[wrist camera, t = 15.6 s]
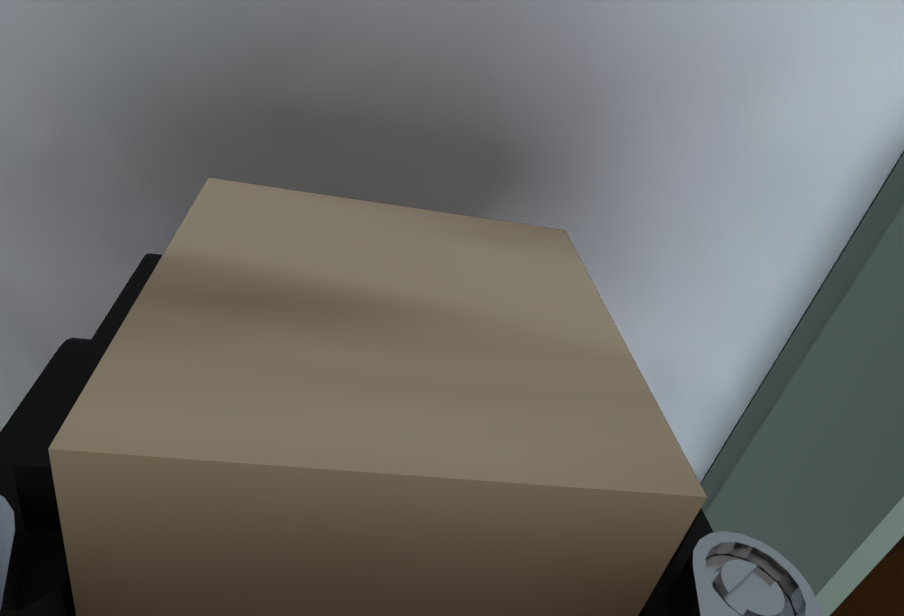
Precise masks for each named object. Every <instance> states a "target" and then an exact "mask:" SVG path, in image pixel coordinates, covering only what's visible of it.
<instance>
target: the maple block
mask: <svg viewBox="0 0 904 616" xmlns="http://www.w3.org/2000/svg"><path fill="white" fill-rule="evenodd" d="M48 451H49V457H50V463H51V469H52V475H53V481H54V487H55V493H56V499H57V505H58V511H59V517H60V523H61V529H62V535H63V541H64V546H65V552H66V558H67V564H68V570H69V576H70V582H71V588H72V594H73V600H74V606H75V612H76V616H638V615H639V613H640V612H641V610H642V608H643V607H644V605H645V603H646V601H647V600H648V598H649V596H650V594H651V593H652V591H653V589H654V588H655V586H656V584H657V582H658V581H659V579H660V577H661V575H662V574H663V572H664V570H665V569H666V567H667V565H668V563H669V562H670V560H671V558H672V557H673V555H674V553H675V551H676V550H677V548H678V546H679V544H680V543H681V541H682V539H683V538H684V536H685V534H686V532H687V531H688V529H689V527H690V525H691V524H692V522H693V520H694V519H695V517H696V515H697V513H698V512H699V510H700V508H701V507H702V505H703V503H704V501H705V500H706V498H707V496H706V494H705V492H704V490H703V488H702V487H701V485H700V483H699V481H698V479H697V477H696V475H695V473H694V472H693V470H692V468H691V466H690V464H689V462H688V460H687V458H686V457H685V455H684V453H683V451H682V449H681V447H680V445H679V443H678V441H677V440H676V438H675V436H674V434H673V432H672V430H671V428H670V426H669V425H668V423H667V421H666V419H665V417H664V415H663V413H662V411H661V410H660V408H659V406H658V404H657V402H656V400H655V398H654V396H653V394H652V393H651V391H650V389H649V387H648V385H647V383H646V381H645V379H644V378H643V376H642V374H641V372H640V370H639V368H638V366H637V364H636V363H635V361H634V359H633V357H632V355H631V353H630V351H629V349H628V348H627V346H626V344H625V342H624V340H623V338H622V336H621V334H620V332H619V331H618V329H617V327H616V325H615V323H614V321H613V319H612V317H611V316H610V314H609V312H608V310H607V308H606V306H605V304H604V302H603V301H602V299H601V297H600V295H599V293H598V291H597V289H596V287H595V285H594V284H593V282H592V280H591V278H590V276H589V274H588V272H587V270H586V269H585V267H584V265H583V263H582V261H581V259H580V257H579V255H578V254H577V252H576V250H575V248H574V246H573V244H572V242H571V240H570V239H569V237H568V235H567V233H566V231H565V230H560V229H553V228H546V227H540V226H533V225H526V224H519V223H513V222H506V221H499V220H492V219H485V218H479V217H472V216H465V215H458V214H452V213H445V212H438V211H431V210H425V209H418V208H411V207H404V206H398V205H391V204H384V203H377V202H370V201H364V200H357V199H350V198H343V197H337V196H330V195H323V194H316V193H310V192H303V191H296V190H289V189H283V188H276V187H269V186H262V185H255V184H249V183H242V182H235V181H228V180H222V179H215V178H208V179H207V181H206V183H205V184H204V186H203V188H202V190H201V191H200V193H199V195H198V196H197V198H196V200H195V201H194V203H193V205H192V206H191V208H190V210H189V212H188V213H187V215H186V217H185V218H184V220H183V222H182V223H181V225H180V227H179V228H178V230H177V232H176V234H175V235H174V237H173V239H172V240H171V242H170V244H169V245H168V247H167V249H166V250H165V252H164V254H163V256H162V257H161V259H160V261H159V262H158V264H157V266H156V267H155V269H154V271H153V272H152V274H151V276H150V278H149V279H148V281H147V283H146V284H145V286H144V288H143V289H142V291H141V293H140V294H139V296H138V298H137V300H136V301H135V303H134V305H133V306H132V308H131V310H130V311H129V313H128V315H127V316H126V318H125V320H124V321H123V323H122V325H121V327H120V328H119V330H118V332H117V333H116V335H115V337H114V338H113V340H112V342H111V343H110V345H109V347H108V349H107V350H106V352H105V354H104V355H103V357H102V359H101V360H100V362H99V364H98V365H97V367H96V369H95V371H94V372H93V374H92V376H91V377H90V379H89V381H88V382H87V384H86V386H85V387H84V389H83V391H82V393H81V394H80V396H79V398H78V399H77V401H76V403H75V404H74V406H73V408H72V409H71V411H70V413H69V415H68V416H67V418H66V420H65V421H64V423H63V425H62V426H61V428H60V430H59V431H58V433H57V435H56V437H55V438H54V440H53V442H52V443H51V445H50V447H49V448H48Z"/></svg>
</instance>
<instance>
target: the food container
mask: <svg viewBox="0 0 904 616" xmlns="http://www.w3.org/2000/svg"><path fill="white" fill-rule="evenodd" d="M830 616H904V536H903V537H902V538H901V539H900V540H899V541H898V542H897V543H896V544H895V546H894V547H893V548H892V549H891V550H890V551H889V552H888V553H887V554H886V555H885V556H884V557H883V558H882V560H881V561H880V562H879V563H878V564H877V565H876V566H875V567H874V568H873V569H872V570H871V571H870V573H869V574H868V575H867V576H866V577H865V578H864V579H863V580H862V581H861V582H860V583H859V584H858V585H857V587H856V588H855V589H854V590H853V591H852V592H851V593H850V594H849V595H848V596H847V597H846V598H845V600H844V601H843V602H842V603H841V604H840V605H839V606H838V607H837V608H836V609H835V610H834V611H833V612H832V614H831V615H830Z"/></svg>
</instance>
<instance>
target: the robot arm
mask: <svg viewBox="0 0 904 616" xmlns="http://www.w3.org/2000/svg"><path fill="white" fill-rule="evenodd" d="M162 256H163V255H158V254H150V253H149V254H146V255H145V256H144V258H143V259H142V261H141V262H140V264H139V265H138V267H137V269H136V270H135V272H134V273H133V275H132V276H131V278H130V280H129V281H128V283H127V284H126V286H125V287H124V289H123V291H122V292H121V294H120V295H119V297H118V298H117V300H116V302H115V303H114V305H113V306H112V308H111V309H110V311H109V313H108V314H107V316H106V317H105V319H104V320H103V322H102V324H101V325H100V327H99V328H98V330H97V331H96V333H95V335H94V336H93V338H92V339H91V340H89V339H79V338H70V339H68V340H66V341H65V342H64V343H63V344H62V345H61V346H60V347H59V349H58V350H57V352H56V353H55V354H54V356H53V357H52V359H51V360H50V362H49V363H48V365H47V366H46V367H45V369H44V370H43V372H42V373H41V375H40V376H39V377H38V379H37V380H36V382H35V383H34V385H33V386H32V388H31V389H30V390H29V392H28V393H27V395H26V396H25V398H24V399H23V401H22V402H21V403H20V405H19V406H18V408H17V409H16V411H15V412H14V413H13V415H12V416H11V418H10V419H9V421H8V422H7V424H6V425H5V426H4V428H3V429H2V431H1V432H0V616H76V612H75V606H74V600H73V594H72V588H71V582H70V576H69V570H68V564H67V558H66V552H65V546H64V541H63V535H62V529H61V523H60V517H59V511H58V505H57V499H56V493H55V487H54V481H53V475H52V469H51V463H50V457H49V451H48V448H49V447H50V445H51V443H52V442H53V440H54V438H55V437H56V435H57V433H58V431H59V430H60V428H61V426H62V425H63V423H64V421H65V420H66V418H67V416H68V415H69V413H70V411H71V409H72V408H73V406H74V404H75V403H76V401H77V399H78V398H79V396H80V394H81V393H82V391H83V389H84V387H85V386H86V384H87V382H88V381H89V379H90V377H91V376H92V374H93V372H94V371H95V369H96V367H97V365H98V364H99V362H100V360H101V359H102V357H103V355H104V354H105V352H106V350H107V349H108V347H109V345H110V343H111V342H112V340H113V338H114V337H115V335H116V333H117V332H118V330H119V328H120V327H121V325H122V323H123V321H124V320H125V318H126V316H127V315H128V313H129V311H130V310H131V308H132V306H133V305H134V303H135V301H136V300H137V298H138V296H139V294H140V293H141V291H142V289H143V288H144V286H145V284H146V283H147V281H148V279H149V278H150V276H151V274H152V272H153V271H154V269H155V267H156V266H157V264H158V262H159V261H160V259H161V257H162ZM638 616H822V613H821V610H820V607H819V604H818V601H817V599H816V597H815V595H814V593H813V591H812V589H811V587H810V585H809V584H808V582H807V581H806V580H805V578H804V577H803V576H802V575H801V573H800V572H799V571H798V570H797V568H796V567H795V566H794V565H792V564H791V563H790V562H789V561H788V560H787V559H786V558H784V557H783V556H782V555H781V554H780V553H779V552H777V551H775V550H774V549H772V548H771V547H769V546H767V545H766V544H764V543H763V542H761V541H759V540H756V539H754V538H751V537H749V536H746V535H744V534H739V533H733V532H727V531H723V532H715V533H714V532H713V530H712V528H711V526H710V524H709V522H708V520H707V518H706V516H705V514H704V512H703V510H702V508H700V510H699V512H698V513H697V515H696V517H695V519H694V520H693V522H692V524H691V525H690V527H689V529H688V531H687V532H686V534H685V536H684V538H683V539H682V541H681V543H680V544H679V546H678V548H677V550H676V551H675V553H674V555H673V557H672V558H671V560H670V562H669V563H668V565H667V567H666V569H665V570H664V572H663V574H662V575H661V577H660V579H659V581H658V582H657V584H656V586H655V588H654V589H653V591H652V593H651V594H650V596H649V598H648V600H647V601H646V603H645V605H644V607H643V608H642V610H641V612H640V613H639V615H638Z"/></svg>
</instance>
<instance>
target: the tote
mask: <svg viewBox="0 0 904 616" xmlns="http://www.w3.org/2000/svg"><path fill="white" fill-rule="evenodd" d="M701 487H702V488H703V490H704V492H705V494H706V496H707V498H706V500H705V501H704V503H703V505H702V507H701V508H702V510H703V512H704V514H705V516H706V518H707V520H708V522H709V524H710V526H711V528H712V530H713V532H714V533H715V532H723V531H727V532H733V533H739V534H744V535H746V536H749V537H751V538H754V539H756V540H759V541H761V542H763V543H764V544H766V545H767V546H769V547H771V548H772V549H774V550H775V551H777V552H779V553H780V554H781V555H782V556H783V557H784V558H786V559H787V560H788V561H789V562H790V563H791V564H792V565H794V566H795V567H796V568H797V570H798V571H799V572H800V573H801V575H802V576H803V577H804V578H805V580H806V581H807V582H808V584H809V585H810V587H811V589H812V591H813V593H814V595H815V597H816V599H817V601H818V604H819V607H820V610H821V613H822V616H830V615H831V614H832V612H833V611H834V610H835V609H836V608H837V607H838V606H839V605H840V604H841V603H842V602H843V601H844V600H845V598H846V597H847V596H848V595H849V594H850V593H851V592H852V591H853V590H854V589H855V588H856V587H857V585H858V584H859V583H860V582H861V581H862V580H863V579H864V578H865V577H866V576H867V575H868V574H869V573H870V571H871V570H872V569H873V568H874V567H875V566H876V565H877V564H878V563H879V562H880V561H881V560H882V558H883V557H884V556H885V555H886V554H887V553H888V552H889V551H890V550H891V549H892V548H893V547H894V546H895V544H896V543H897V542H898V541H899V540H900V539H901V538H902V537H903V536H904V153H903V155H902V157H901V158H900V160H899V162H898V163H897V165H896V167H895V168H894V170H893V171H892V173H891V175H890V176H889V178H888V180H887V181H886V183H885V185H884V186H883V188H882V189H881V191H880V193H879V194H878V196H877V198H876V199H875V201H874V202H873V204H872V206H871V207H870V209H869V211H868V212H867V214H866V216H865V217H864V219H863V220H862V222H861V224H860V225H859V227H858V229H857V230H856V232H855V233H854V235H853V237H852V238H851V240H850V242H849V243H848V245H847V247H846V248H845V250H844V251H843V253H842V255H841V256H840V258H839V260H838V261H837V263H836V264H835V266H834V268H833V269H832V271H831V273H830V274H829V276H828V278H827V279H826V281H825V282H824V284H823V286H822V287H821V289H820V291H819V292H818V294H817V295H816V297H815V299H814V300H813V302H812V304H811V305H810V307H809V309H808V310H807V312H806V313H805V315H804V317H803V318H802V320H801V322H800V323H799V325H798V326H797V328H796V330H795V331H794V333H793V335H792V336H791V338H790V340H789V341H788V343H787V344H786V346H785V348H784V349H783V351H782V353H781V354H780V356H779V357H778V359H777V361H776V362H775V364H774V366H773V367H772V369H771V371H770V372H769V374H768V375H767V377H766V379H765V380H764V382H763V384H762V385H761V387H760V388H759V390H758V392H757V393H756V395H755V397H754V398H753V400H752V402H751V403H750V405H749V406H748V408H747V410H746V411H745V413H744V415H743V416H742V418H741V419H740V421H739V423H738V424H737V426H736V428H735V429H734V431H733V433H732V434H731V436H730V437H729V439H728V441H727V442H726V444H725V446H724V447H723V449H722V450H721V452H720V454H719V455H718V457H717V459H716V460H715V462H714V464H713V465H712V467H711V468H710V470H709V472H708V473H707V475H706V477H705V478H704V480H703V481H702V483H701Z"/></svg>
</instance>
